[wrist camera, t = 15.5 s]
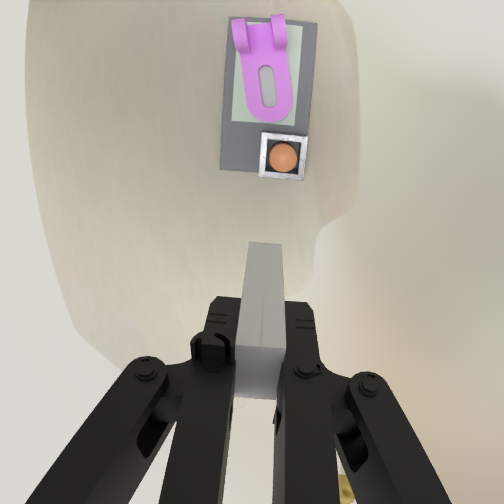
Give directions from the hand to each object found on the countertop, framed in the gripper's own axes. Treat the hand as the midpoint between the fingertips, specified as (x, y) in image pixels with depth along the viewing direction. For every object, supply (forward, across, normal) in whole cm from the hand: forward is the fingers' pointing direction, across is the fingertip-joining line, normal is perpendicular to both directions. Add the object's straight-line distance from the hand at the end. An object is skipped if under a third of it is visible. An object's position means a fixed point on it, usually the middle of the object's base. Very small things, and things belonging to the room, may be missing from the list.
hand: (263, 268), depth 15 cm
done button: (+28, +2, 0) cm, 28 cm away
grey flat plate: (+29, -1, +8) cm, 30 cm away
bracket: (+29, -1, +10) cm, 31 cm away
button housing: (+28, +2, 0) cm, 28 cm away
